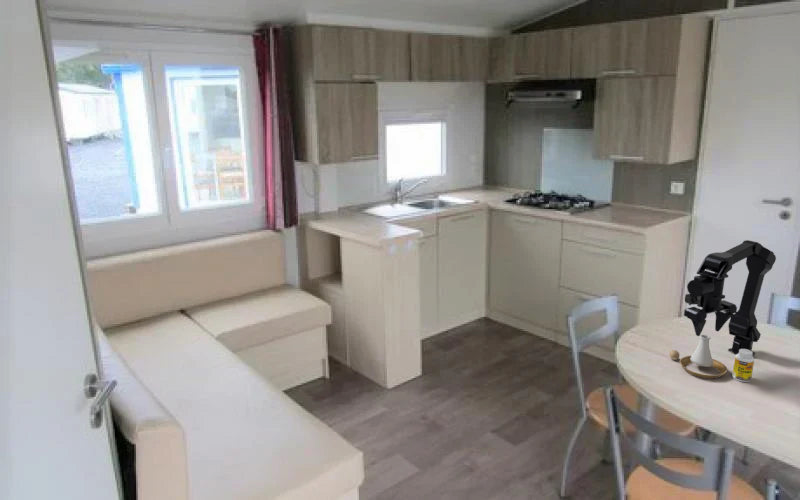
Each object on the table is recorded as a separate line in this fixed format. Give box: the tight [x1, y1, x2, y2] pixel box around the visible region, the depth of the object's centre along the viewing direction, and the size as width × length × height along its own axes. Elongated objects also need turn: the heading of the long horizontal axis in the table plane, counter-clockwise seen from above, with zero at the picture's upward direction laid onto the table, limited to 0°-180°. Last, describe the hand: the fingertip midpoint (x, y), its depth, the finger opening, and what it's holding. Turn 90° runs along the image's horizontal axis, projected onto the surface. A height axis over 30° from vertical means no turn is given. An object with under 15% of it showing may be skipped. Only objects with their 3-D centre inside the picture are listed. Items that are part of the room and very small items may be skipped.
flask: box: [690, 334, 714, 368], centre depth 204 cm, size 7×7×10 cm
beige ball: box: [668, 349, 681, 361], centre depth 212 cm, size 4×4×4 cm
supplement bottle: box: [731, 349, 755, 383], centre depth 196 cm, size 6×6×10 cm
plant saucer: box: [679, 355, 728, 379], centre depth 204 cm, size 15×15×3 cm
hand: (707, 333), depth 203 cm, fingers open, 9 cm apart
